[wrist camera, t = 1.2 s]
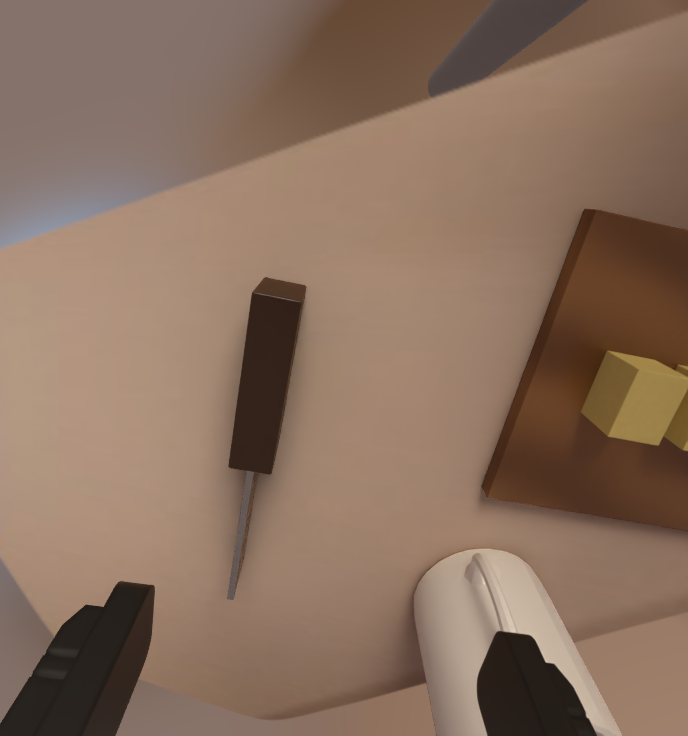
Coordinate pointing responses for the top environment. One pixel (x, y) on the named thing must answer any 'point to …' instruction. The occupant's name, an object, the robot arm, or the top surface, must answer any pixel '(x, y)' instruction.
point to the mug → (489, 635)
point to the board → (578, 371)
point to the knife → (263, 392)
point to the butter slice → (634, 398)
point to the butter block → (680, 419)
